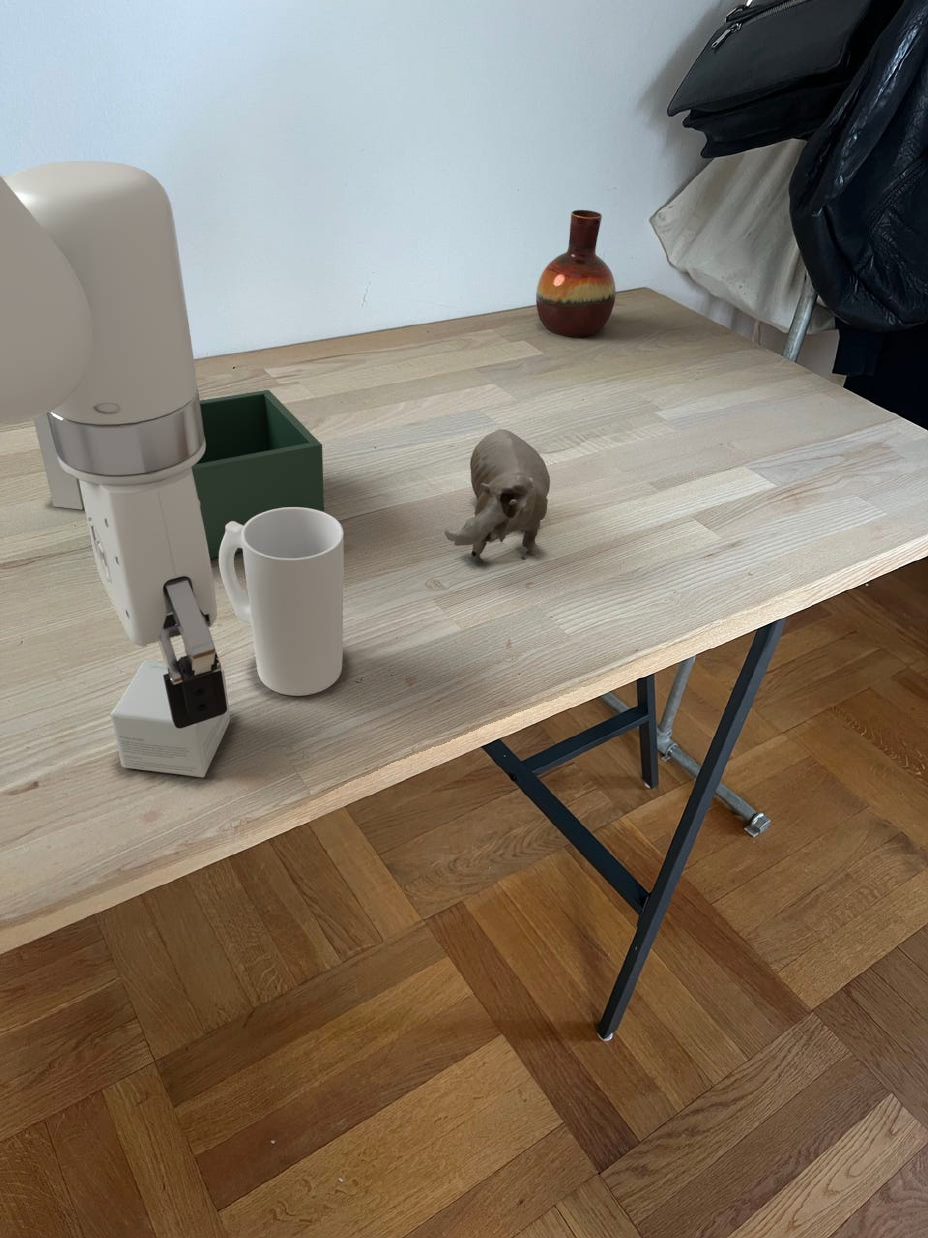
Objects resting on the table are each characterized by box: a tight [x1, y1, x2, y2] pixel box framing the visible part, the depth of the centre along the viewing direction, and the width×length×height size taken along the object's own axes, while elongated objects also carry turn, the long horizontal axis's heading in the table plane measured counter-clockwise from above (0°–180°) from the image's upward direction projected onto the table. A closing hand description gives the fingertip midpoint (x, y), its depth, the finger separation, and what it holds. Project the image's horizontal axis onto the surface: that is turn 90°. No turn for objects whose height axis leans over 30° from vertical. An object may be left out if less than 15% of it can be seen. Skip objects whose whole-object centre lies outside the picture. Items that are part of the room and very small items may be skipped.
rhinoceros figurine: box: [444, 428, 551, 567], centre depth 83 cm, size 8×14×15 cm
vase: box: [535, 209, 617, 338], centre depth 128 cm, size 11×11×15 cm
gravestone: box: [33, 413, 85, 511], centre depth 84 cm, size 3×9×18 cm, turn 174°
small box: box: [110, 659, 231, 778], centre depth 61 cm, size 6×6×5 cm
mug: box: [218, 507, 345, 697], centre depth 66 cm, size 10×7×12 cm, turn 62°
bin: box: [191, 389, 325, 560], centre depth 83 cm, size 16×13×9 cm
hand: (176, 671), depth 59 cm, fingers open, 9 cm apart
